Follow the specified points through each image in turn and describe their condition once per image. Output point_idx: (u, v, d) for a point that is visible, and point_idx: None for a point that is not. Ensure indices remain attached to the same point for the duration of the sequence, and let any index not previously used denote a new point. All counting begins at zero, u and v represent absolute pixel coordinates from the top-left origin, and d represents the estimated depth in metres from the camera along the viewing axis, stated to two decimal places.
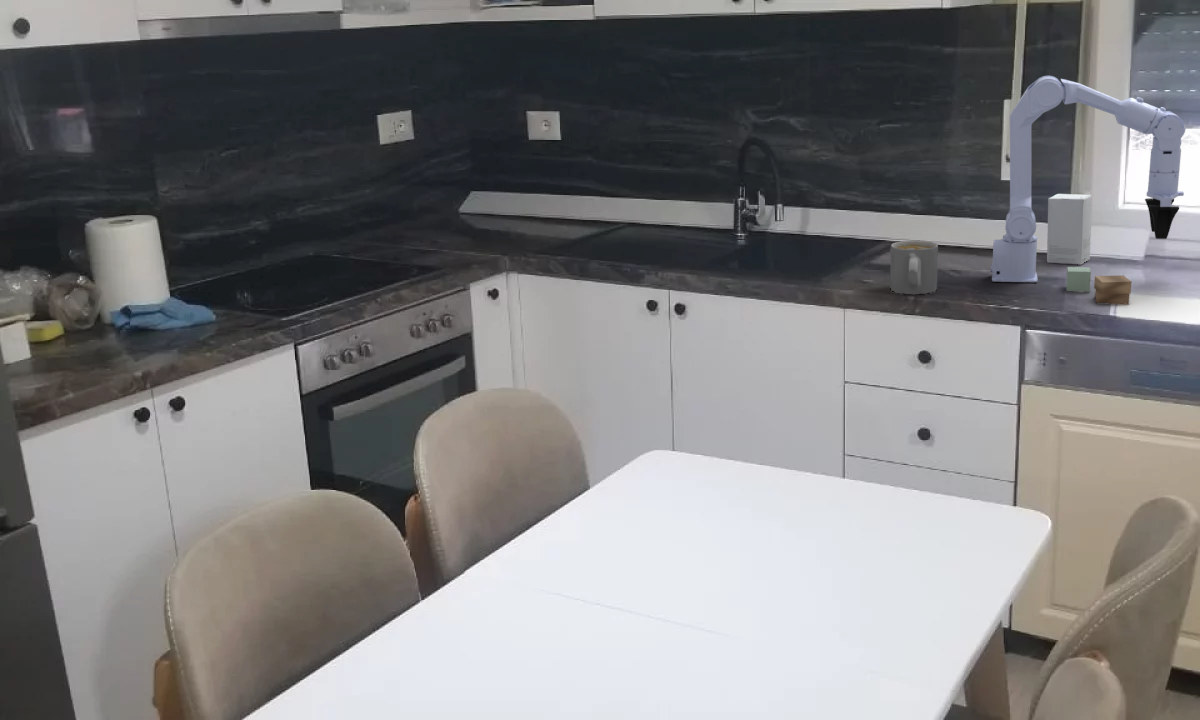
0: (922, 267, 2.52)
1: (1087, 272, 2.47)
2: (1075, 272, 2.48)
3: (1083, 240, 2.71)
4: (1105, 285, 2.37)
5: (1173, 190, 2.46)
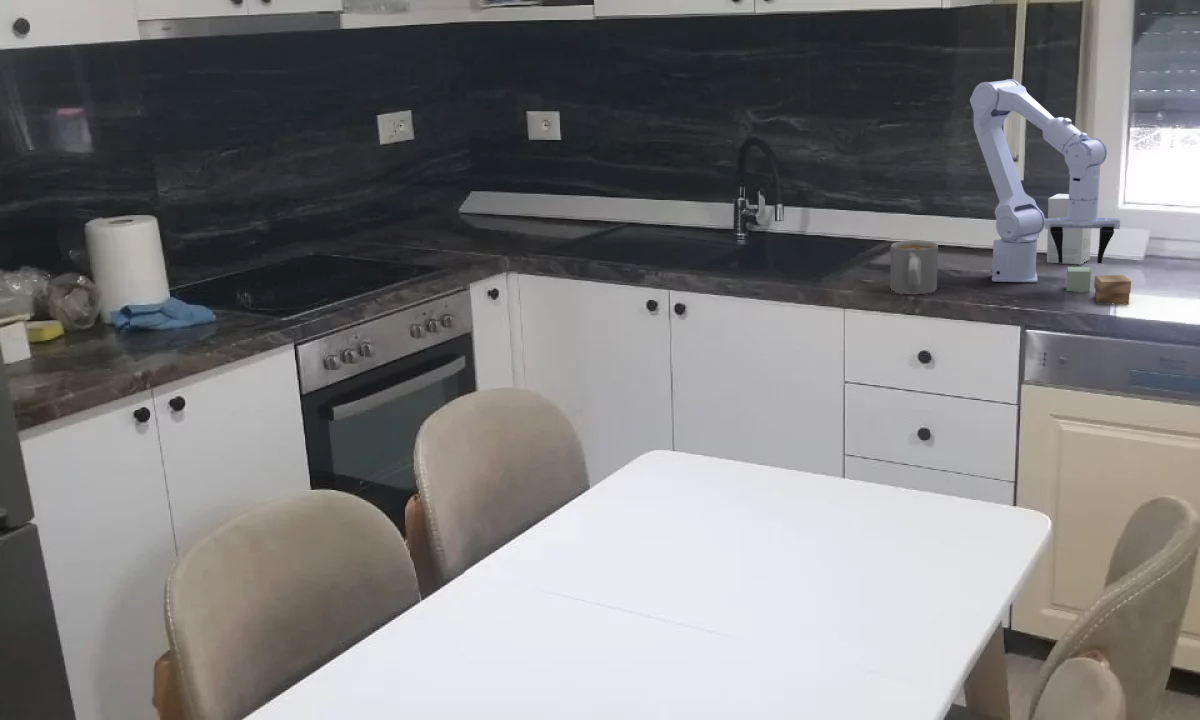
0: (922, 267, 2.52)
1: (1087, 272, 2.47)
2: (1075, 272, 2.48)
3: (1083, 240, 2.71)
4: (1105, 285, 2.37)
5: (1071, 217, 2.45)
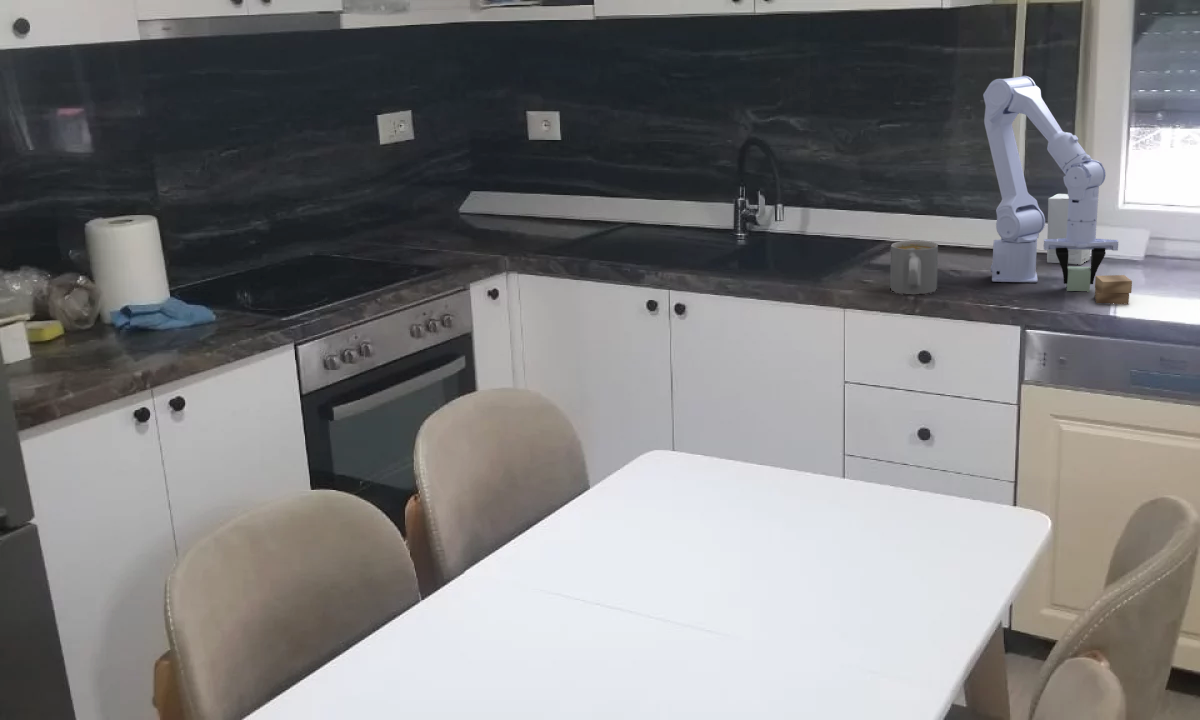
0: (922, 267, 2.52)
1: (1087, 272, 2.47)
2: (1075, 272, 2.48)
3: None
4: (1106, 285, 2.37)
5: (1070, 238, 2.47)
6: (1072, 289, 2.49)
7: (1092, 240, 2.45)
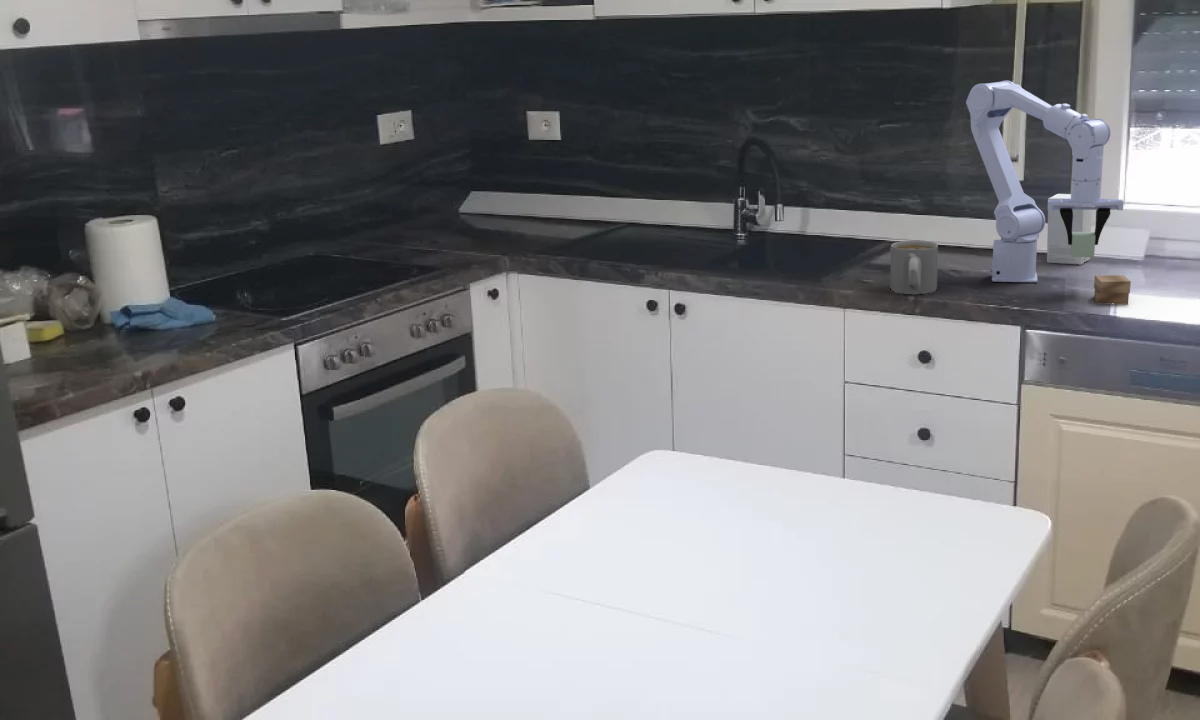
0: (922, 267, 2.52)
1: (1092, 236, 2.44)
2: (1079, 236, 2.45)
3: None
4: (1105, 284, 2.37)
5: (1074, 198, 2.44)
6: (1076, 254, 2.46)
7: (1097, 200, 2.42)
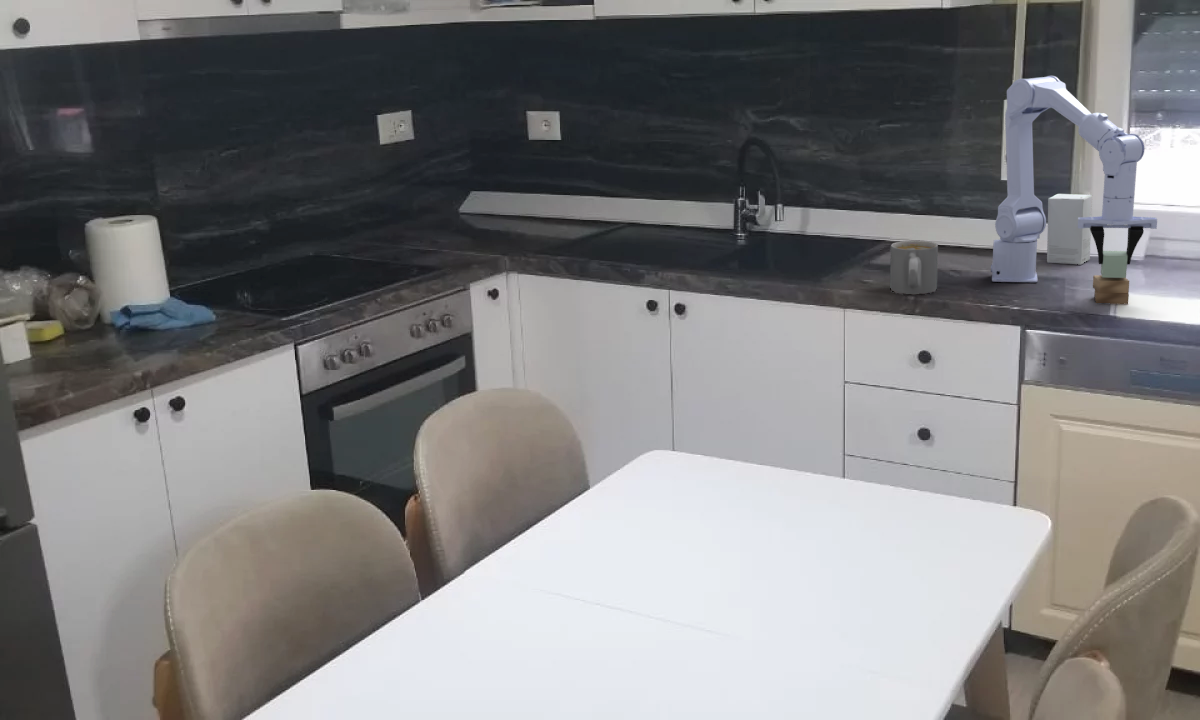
0: (922, 267, 2.52)
1: (1124, 256, 2.36)
2: (1111, 256, 2.36)
3: (1083, 240, 2.71)
4: (1103, 284, 2.38)
5: (1106, 216, 2.35)
6: (1107, 275, 2.38)
7: (1129, 218, 2.34)
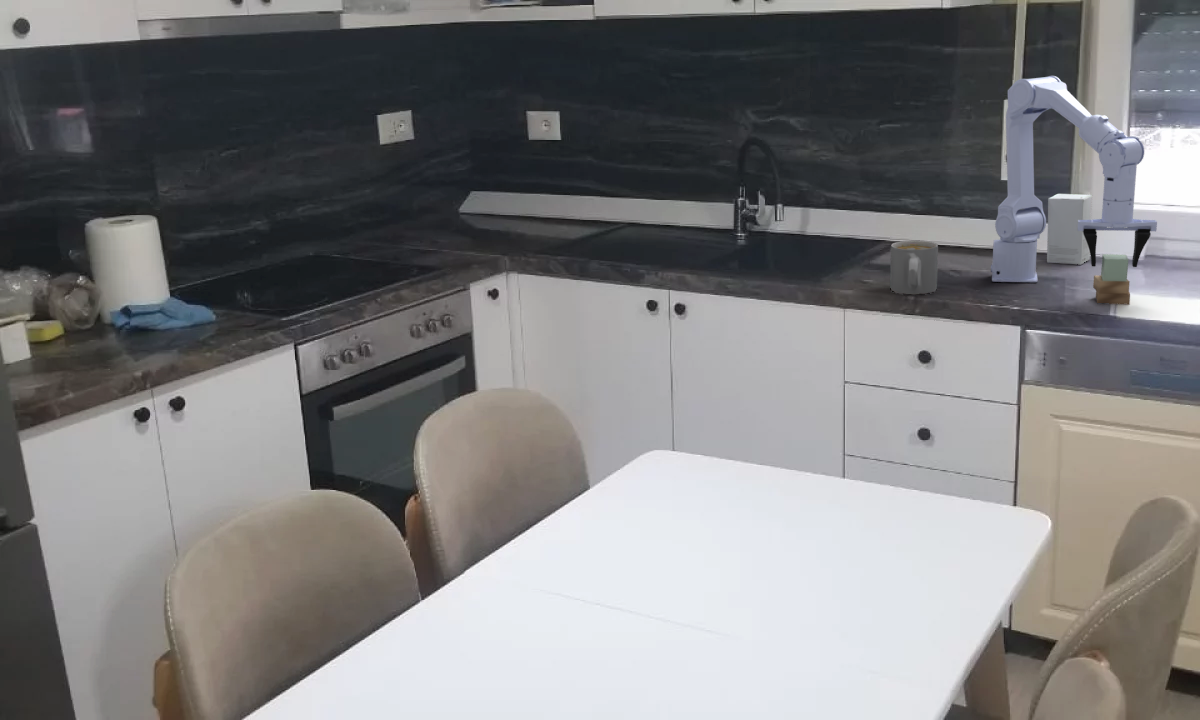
0: (922, 267, 2.52)
1: (1125, 260, 2.36)
2: (1112, 260, 2.36)
3: (1083, 240, 2.71)
4: (1103, 285, 2.38)
5: (1106, 218, 2.35)
6: (1108, 278, 2.38)
7: (1129, 220, 2.34)
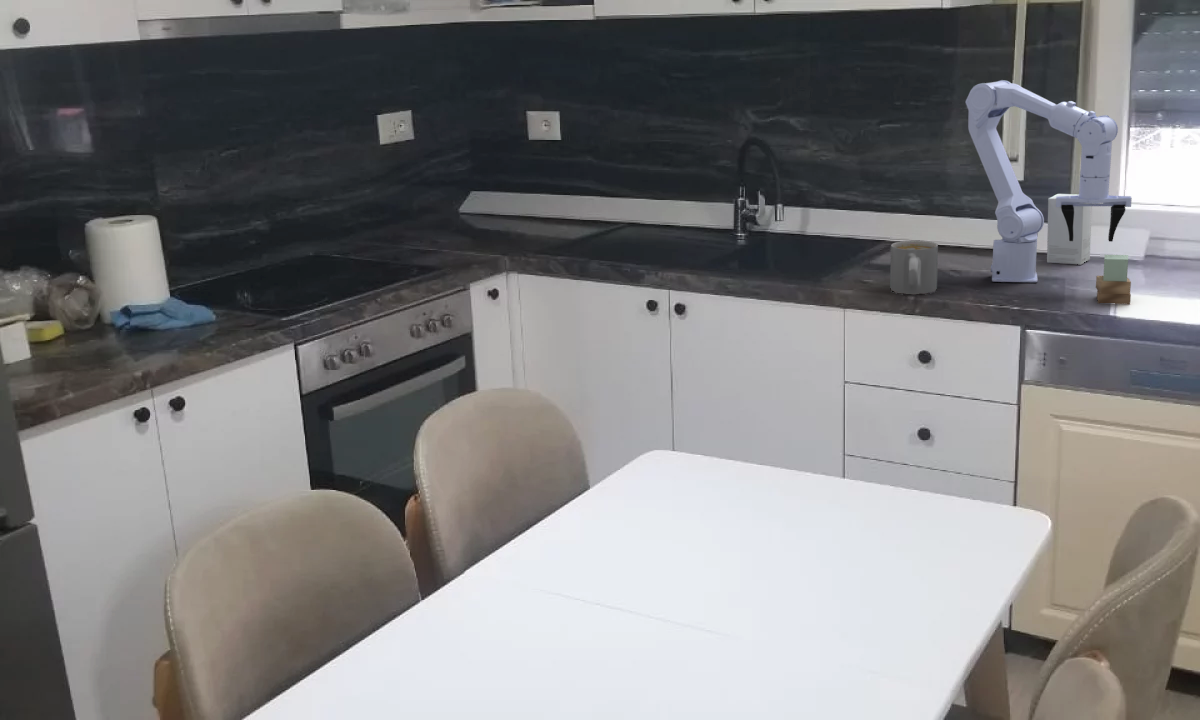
0: (922, 267, 2.52)
1: (1124, 260, 2.36)
2: (1112, 260, 2.37)
3: (1083, 240, 2.71)
4: (1104, 285, 2.38)
5: (1082, 194, 2.44)
6: (1108, 278, 2.38)
7: (1105, 196, 2.43)
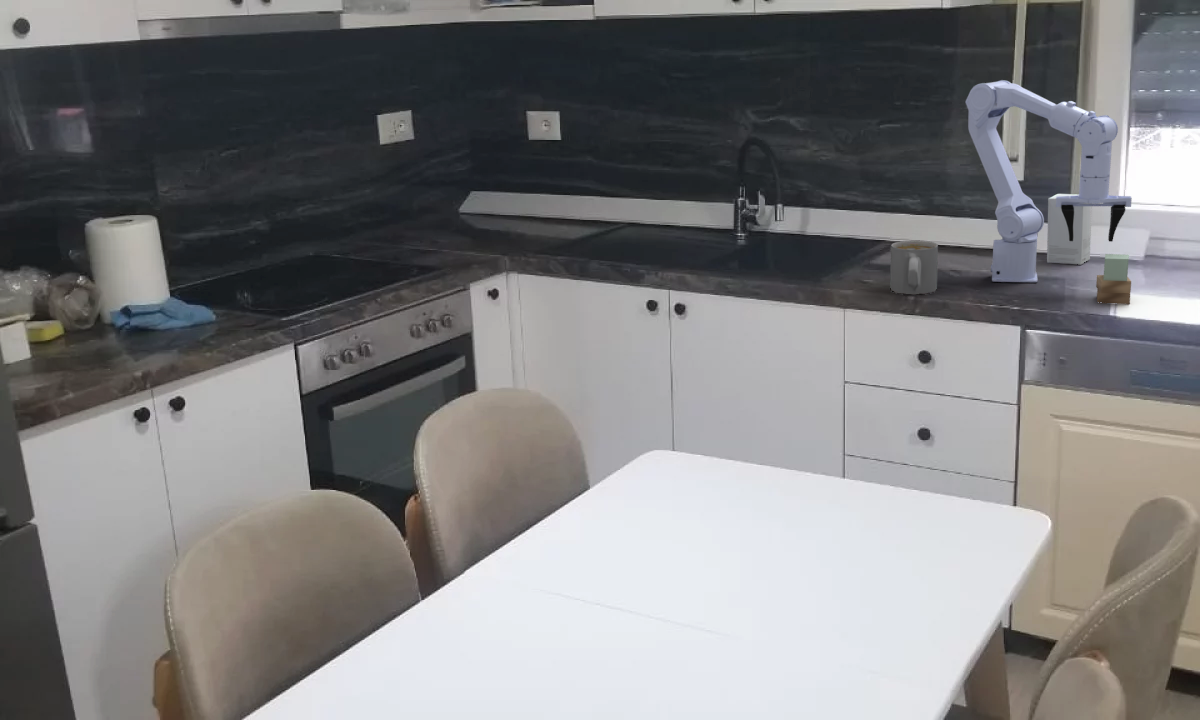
0: (922, 267, 2.52)
1: (1125, 259, 2.36)
2: (1112, 259, 2.37)
3: (1083, 240, 2.71)
4: (1105, 284, 2.38)
5: (1082, 194, 2.44)
6: (1109, 278, 2.38)
7: (1105, 196, 2.43)
